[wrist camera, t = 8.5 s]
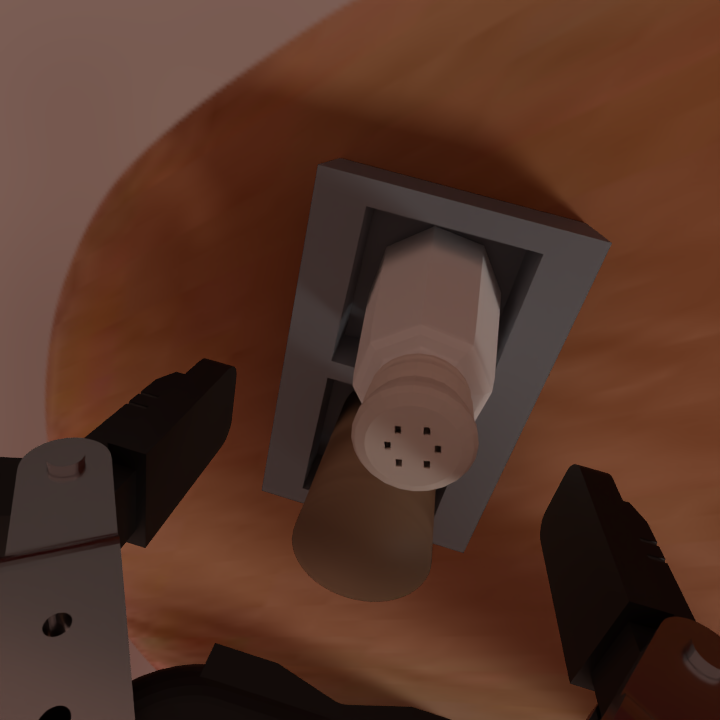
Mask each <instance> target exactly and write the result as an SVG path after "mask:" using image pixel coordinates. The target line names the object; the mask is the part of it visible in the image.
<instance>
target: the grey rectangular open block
mask: <svg viewBox="0 0 720 720" xmlns="http://www.w3.org/2000/svg"><path fill="white" fill-rule="evenodd" d="M434 226H436V227H439V228H441V229H444V230H446V231H449V232H451V233H454V234H456V235H458V236H461V237H463V238H466V239H468V240H471V241H473V242H476V243H478V244H481V245H483V246H484V247H485V250H486V253H487V255H488V258H489V261H490V264H491V266H492V269H493V272H494V275H495V277H496V280H497V283H498V286H499V288H500V291H501V303H500V316H499V329H498V342H497V355H496V368H495V380H494V385H493V390H492V393H491V395H490V396H489V398H488V400H487V402H486V403H485V405H484V407H483V408H482V410H481V412H480V414H479V415H478V417H477V419H476V420H475V423H476V425H477V431H478V441H479V446H478V451H477V455H476V459H475V460H474V462H473V464H472V465H471V467H470V468H469V470H468V471H467V472H466V473H465V474H464V475H463V476H461V477H460V478H459V479H458V480H457V481H455V482H453V483H451V484H449V485H447V486H445V487H442V488H438V489H436V493H435V510H434V527H433V544H436V545H440V546H443V547H446V548H449V549H452V550H456V551H459V552H462V553H464V551H465V549H466V546H467V544H468V542H469V540H470V538H471V536H472V534H473V532H474V530H475V528H476V526H477V523H478V521H479V519H480V517H481V515H482V513H483V511H484V509H485V507H486V505H487V503H488V501H489V498H490V496H491V494H492V492H493V490H494V488H495V486H496V484H497V482H498V480H499V478H500V475H501V473H502V471H503V469H504V467H505V465H506V463H507V461H508V459H509V457H510V455H511V453H512V450H513V448H514V446H515V444H516V442H517V440H518V438H519V436H520V434H521V432H522V430H523V427H524V425H525V423H526V421H527V419H528V417H529V415H530V413H531V411H532V409H533V407H534V405H535V402H536V400H537V398H538V396H539V394H540V392H541V390H542V388H543V386H544V384H545V382H546V379H547V377H548V375H549V373H550V371H551V369H552V367H553V365H554V363H555V361H556V359H557V356H558V354H559V352H560V350H561V348H562V346H563V344H564V342H565V340H566V338H567V336H568V334H569V331H570V329H571V327H572V325H573V323H574V321H575V319H576V317H577V315H578V313H579V311H580V308H581V306H582V304H583V302H584V300H585V298H586V296H587V294H588V292H589V290H590V288H591V286H592V283H593V281H594V279H595V277H596V275H597V273H598V271H599V269H600V267H601V265H602V263H603V260H604V258H605V256H606V254H607V252H608V250H609V248H610V246H611V244H612V243H611V242H610V241H608V240H607V239H606V238H605V237H603V236H602V235H601V234H599V233H598V232H597V231H595V230H594V229H593V228H592V227H590V226H589V225H588V224H586V223H583V222H579V221H575V220H571V219H568V218H564V217H560V216H556V215H553V214H549V213H545V212H541V211H538V210H534V209H530V208H526V207H523V206H519V205H515V204H511V203H508V202H504V201H500V200H496V199H492V198H489V197H485V196H481V195H477V194H474V193H470V192H466V191H462V190H459V189H455V188H451V187H447V186H444V185H440V184H436V183H432V182H429V181H425V180H421V179H417V178H414V177H410V176H406V175H402V174H398V173H395V172H391V171H387V170H383V169H380V168H376V167H372V166H368V165H365V164H361V163H357V162H353V161H350V160H346V159H342V158H339V159H335V160H332V161H328V162H325V163H321V164H318V168H317V173H316V179H315V185H314V191H313V196H312V202H311V208H310V214H309V220H308V225H307V231H306V237H305V243H304V249H303V254H302V260H301V266H300V272H299V278H298V283H297V289H296V295H295V301H294V307H293V312H292V318H291V324H290V330H289V335H288V341H287V347H286V353H285V359H284V364H283V370H282V376H281V382H280V388H279V393H278V399H277V405H276V411H275V417H274V422H273V428H272V434H271V440H270V446H269V451H268V457H267V463H266V469H265V475H264V480H263V486H262V491H265V492H268V493H272V494H275V495H278V496H281V497H285V498H288V499H291V500H294V501H297V502H301V503H304V502H305V499H306V497H307V494H308V492H309V489H310V487H311V484H312V482H313V479H314V477H315V474H316V472H317V470H318V467H319V465H320V462H321V460H322V457H323V455H324V452H325V450H326V447H327V445H328V442H329V440H330V437H331V435H332V432H333V430H334V427H335V425H336V422H337V420H338V417H339V415H340V412H341V410H342V407H343V405H344V403H345V401H346V399H347V398H348V396H349V395H350V394H351V393H352V392H353V391H354V388H353V375H354V369H355V363H356V358H357V353H358V348H359V343H360V337H361V332H362V327H363V322H364V317H365V312H366V306H367V301H368V296H369V291H370V289H371V286H372V284H373V281H374V278H375V276H376V273H377V271H378V268H379V265H380V263H381V260H382V258H383V255H384V252H385V250H386V247H387V246H390V245H392V244H394V243H396V242H399V241H401V240H403V239H406V238H408V237H410V236H413V235H415V234H417V233H420V232H422V231H424V230H427V229H429V228H431V227H434Z"/></svg>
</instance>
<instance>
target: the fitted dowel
mask: <svg viewBox="0 0 720 720" xmlns="http://www.w3.org/2000/svg"><path fill="white" fill-rule="evenodd" d="M361 404H362V403H361V401H360V399H359V397H358V395H357V393H356V392H355V390H354V391H353V392H352V393H351V394H350V395H349V396H348V398H347V399H346V401H345V403H344V405H343V407H342V410H341V412H340V415H339V417H338V420H337V422H336V425H335V427H334V430H333V432H332V435H331V437H330V440H329V442H328V445H327V447H326V450H325V452H324V455H323V457H322V460H321V462H320V465H319V467H318V470H317V472H316V474H315V477H314V479H313V482H312V484H311V487H310V489H309V492H308V494H307V497H306V499H305V502H304V504H303V507H302V509H301V512H300V514H299V517H298V519H297V522H296V524H295V527H294V530H293V535H292V545H293V550H294V553H295V556H296V558H297V560H298V562H299V563H300V565H301V566H302V568H303V569H304V570H305V572H306V573H307V574H308V575H309V576H310V577H311V578H312V579H314V580H315V581H316V582H317V583H319V584H320V585H322V586H323V587H325V588H326V589H328V590H330V591H332V592H334V593H336V594H339V595H342V596H344V597H347V598H351V599H355V600H361V601H370V602H381V601H389V600H394V599H398V598H401V597H404V596H406V595H408V594H410V593H411V592H413V591H415V590H416V589H417V588H418V587H419V586H421V585H422V583H423V582H424V581H425V580H426V578H427V576H428V574H429V571H430V568H431V562H432V545H433V527H434V510H435V493H436V489H434V490H429V491H410V490H404V489H399V488H396V487H394V486H391V485H389V484H386V483H384V482H383V481H381V480H380V479H378V478H377V477H375V476H374V475H372V474H371V473H370V472H369V471H368V470H367V469H366V468H365V466H364V465H363V464H362V463H361V462H360V460H359V458H358V456H357V455H356V453H355V451H354V447H353V443H352V438H351V433H352V423H353V421H354V418H355V416H356V414H357V411H358V409H359V407H360V405H361Z"/></svg>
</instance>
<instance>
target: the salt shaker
mask: <svg viewBox="0 0 720 720" xmlns="http://www.w3.org/2000/svg"><path fill="white" fill-rule="evenodd" d="M500 303H501V291H500V288H499V286H498V283H497V280H496V277H495V275H494V272H493V269H492V266H491V264H490V261H489V258H488V255H487V253H486V250H485V247H484V246H483V245H481V244H478V243H476V242H473V241H471V240H468V239H466V238H463V237H461V236H458V235H456V234H454V233H451V232H449V231H446V230H444V229H441V228H439V227H436V226H434V227H431V228H429V229H427V230H424V231H422V232H420V233H417V234H415V235H413V236H410V237H408V238H406V239H403V240H401V241H399V242H396V243H394V244H392V245H390V246H387V247H386V250H385V252H384V255H383V258H382V260H381V263H380V265H379V268H378V271H377V273H376V276H375V278H374V281H373V284H372V286H371V289H370V291H369V296H368V301H367V306H366V312H365V317H364V322H363V327H362V332H361V337H360V343H359V348H358V353H357V358H356V363H355V369H354V375H353V388H354V390H355V392H356V393H357V395H358V397H359V399H360V401H361V403H362V404H361V405H360V407H359V409H358V411H357V414H356V416H355V418H354V421H353V423H352V433H351V438H352V443H353V447H354V451H355V453H356V455H357V456H358V458H359V460H360V462H361V463H362V464H363V465H364V466H365V468H366V469H367V470H368V471H369V472H370V473H371V474H372V475H374V476H375V477H377V478H378V479H380V480H381V481H383V482H384V483H386V484H389V485H391V486H394V487H396V488H399V489H404V490H410V491H429V490H434V489H438V488H442V487H445V486H447V485H449V484H451V483H453V482H455V481H457V480H458V479H459V478H460V477H461V476H463V475H464V474H465V473H466V472H467V471H468V470H469V468H470V467H471V465H472V464H473V462H474V460H475V459H476V455H477V451H478V446H479V441H478V431H477V425H476V423H475V420H476V419H477V417H478V415H479V414H480V412H481V410H482V408H483V407H484V405H485V403H486V402H487V400H488V398H489V396H490V395H491V393H492V390H493V385H494V380H495V368H496V355H497V342H498V329H499V316H500Z"/></svg>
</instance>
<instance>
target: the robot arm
mask: <svg viewBox="0 0 720 720" xmlns="http://www.w3.org/2000/svg"><path fill="white" fill-rule="evenodd" d="M235 384H236V368H235V367H234V366H230V365H227V364H223V363H220V362H216V361H212V360H209V359H202V360H200V361H199V362H198V363H197V364H196V365H195V366H194V367H192V368H191V369H190V370H189V371H188V372H187V373H186V374H182V373H178V372H175V373H172V374H169V375H167V376H164V377H161V378H159V379H156V380H155V381H153V382H152V383H151V384H150V385H149V386H147V387H146V388H145V389H144V390H142V391H141V394H138V395H136V396H135V397H134V398H133V399H131V400H130V401H129V404H125V405H124V406H123V407H122V408H120V409H119V410H118V411H117V412H116V413H114V414H113V415H112V416H111V417H109V418H108V419H107V420H106V421H105V422H103V423H102V424H101V425H100V426H98V427H97V428H96V429H95V430H94V431H92V432H91V433H90V434H89V435H87V436H86V437H85V438H64V439H58V440H54V441H50V442H48V443H45V444H42V445H40V446H38V447H37V448H35V449H33V450H31V451H30V452H29V453H28V454H26V455H25V456H24V457H23V458H8V457H0V720H450V719H447V718H444V717H441V716H438V715H435V714H432V713H429V712H426V711H422V710H419V709H416V708H413V707H396V706H364V705H344V704H340V703H337V702H336V701H334V700H332V699H331V698H329V697H328V696H326V695H325V694H323V693H322V692H320V691H319V690H317V689H316V688H314V687H313V686H311V685H310V684H308V683H307V682H305V681H304V680H302V679H301V678H299V677H298V676H296V675H295V674H293V673H291V672H290V671H288V670H287V669H285V668H284V667H282V666H281V665H279V664H278V663H275V662H272V661H269V660H266V659H263V658H260V657H256V656H253V655H250V654H247V653H244V652H241V651H238V650H235V649H232V648H229V647H226V646H223V645H220V644H216V643H215V645H214V647H213V649H212V651H211V653H210V655H209V657H208V659H207V661H206V664H192V665H182V666H175V667H170V668H166V669H161V670H158V671H155V672H152V673H149V674H146V675H143V676H141V677H138V678H136V679H134V680H132V678H131V666H130V654H129V644H128V643H129V642H128V630H127V618H126V606H125V595H124V583H123V571H122V559H121V548H122V546H123V545H124V544H125V543H126V542H128V543H131V544H134V545H138V546H141V547H144V548H146V546H147V545H148V544H149V542H150V541H151V540H152V538H153V537H154V536H155V534H156V533H157V532H158V530H159V529H160V528H161V526H162V525H163V524H164V522H165V521H166V520H167V518H168V517H169V516H170V514H171V513H172V512H173V510H174V509H175V508H176V506H177V505H178V504H179V502H180V501H181V500H182V498H183V497H184V496H185V494H186V493H187V492H188V490H189V489H190V488H191V486H192V485H193V484H194V482H195V481H196V480H197V478H198V477H199V476H200V474H201V473H202V472H203V470H204V469H205V468H206V466H207V465H208V464H209V462H210V461H211V460H212V458H213V457H214V456H215V454H216V453H217V452H218V450H219V449H220V448H221V446H222V445H223V443H224V442H225V440H226V437H227V435H228V432H229V429H230V426H231V421H232V412H233V403H234V393H235ZM540 540H541V545H542V550H543V555H544V560H545V564H546V569H547V574H548V579H549V584H550V589H551V594H552V598H553V603H554V608H555V613H556V618H557V623H558V627H559V632H560V637H561V642H562V647H563V652H564V656H565V661H566V666H567V671H568V676H569V681H570V684H573V685H577V686H580V687H583V688H586V689H589V690H593V691H595V694H596V698H597V702H598V704H597V705H596V706H595V708H594V709H593V710H592V711H591V713H590V714H589V716H588V717H587V719H586V720H720V636H719V635H717V634H716V633H715V632H713V631H712V630H710V629H709V628H707V627H705V626H703V625H702V624H700V623H697V622H696V621H695V619H694V617H693V615H692V613H691V611H690V609H689V607H688V604H687V602H686V600H685V598H684V596H683V594H682V592H681V590H680V588H679V586H678V584H677V582H676V580H675V578H674V576H673V574H672V572H671V570H670V568H669V566H668V564H667V563H665V558H664V556H663V554H662V552H661V549H660V547H659V546H657V545H656V544H657V541H656V539H655V537H654V535H653V533H652V531H651V529H650V527H649V525H648V523H647V522H646V521H645V519H644V518H643V517H642V516H641V515H640V514H639V513H638V512H637V511H636V509H635V508H634V507H633V506H632V505H631V504H630V503H629V502H625V501H623V500H622V498H621V496H620V493H619V491H618V489H617V487H616V485H615V482H614V480H613V478H612V476H611V475H610V474H608V473H605V472H601V471H598V470H594V469H591V468H587V467H584V466H580V465H576V464H574V465H572V466H571V467H570V468H569V469H568V470H567V472H566V474H565V476H564V478H563V479H562V481H561V483H560V485H559V487H558V489H557V491H556V493H555V495H554V496H553V498H552V500H551V502H550V504H549V506H548V508H547V510H546V512H545V514H544V516H543V520H542V524H541V530H540Z"/></svg>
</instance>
